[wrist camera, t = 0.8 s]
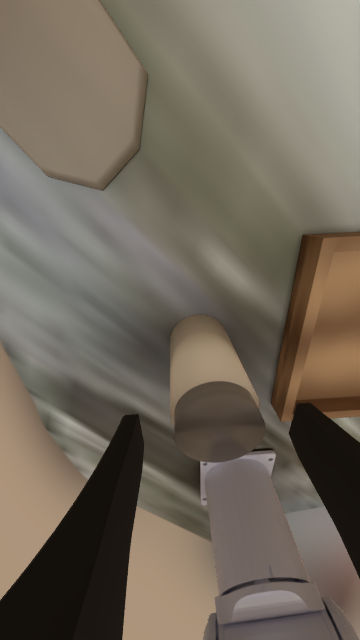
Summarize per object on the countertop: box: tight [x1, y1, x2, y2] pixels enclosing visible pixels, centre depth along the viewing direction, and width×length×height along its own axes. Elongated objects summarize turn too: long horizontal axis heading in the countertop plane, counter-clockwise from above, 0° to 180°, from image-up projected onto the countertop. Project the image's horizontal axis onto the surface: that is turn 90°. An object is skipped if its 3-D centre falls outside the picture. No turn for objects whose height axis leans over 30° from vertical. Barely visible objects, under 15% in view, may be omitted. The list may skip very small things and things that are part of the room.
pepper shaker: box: [170, 315, 265, 463], centre depth 13 cm, size 4×4×8 cm
